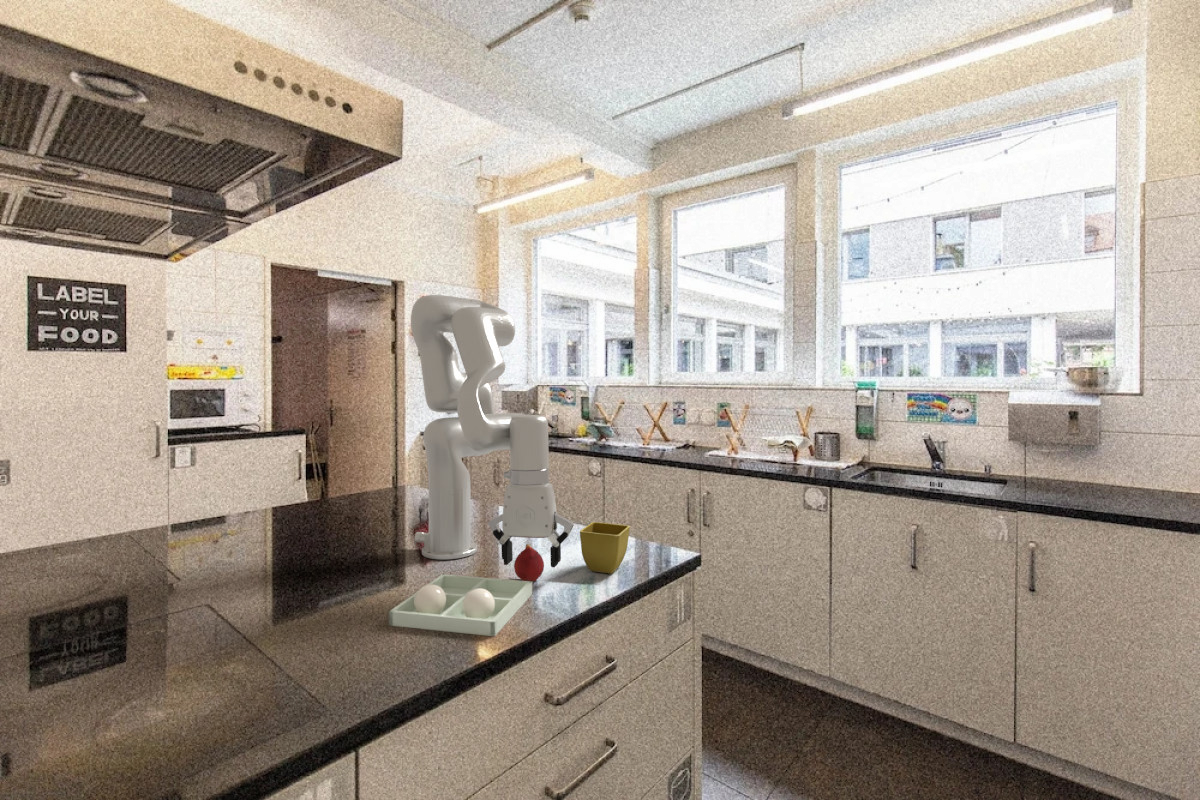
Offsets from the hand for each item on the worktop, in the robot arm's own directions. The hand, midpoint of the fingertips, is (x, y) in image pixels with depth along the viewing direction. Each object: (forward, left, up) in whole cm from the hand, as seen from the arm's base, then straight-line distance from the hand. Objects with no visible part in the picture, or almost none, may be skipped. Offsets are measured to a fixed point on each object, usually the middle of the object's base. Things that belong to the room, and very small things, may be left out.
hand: (531, 564), depth 112 cm
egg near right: (-2, -20, -3) cm, 20 cm away
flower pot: (+12, +12, -4) cm, 18 cm away
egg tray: (-7, -16, -4) cm, 18 cm away
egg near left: (-11, -20, -3) cm, 23 cm away
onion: (-1, 0, -4) cm, 4 cm away
